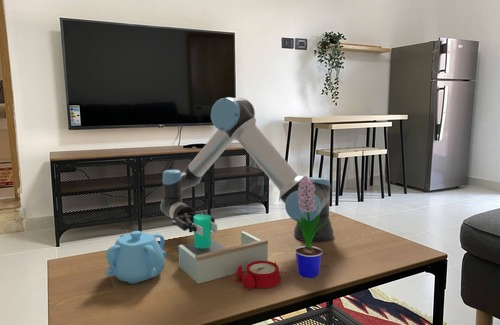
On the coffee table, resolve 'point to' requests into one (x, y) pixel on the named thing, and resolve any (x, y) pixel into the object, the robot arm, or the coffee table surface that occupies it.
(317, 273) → the hyacinth
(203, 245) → the candle
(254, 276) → the alarm clock
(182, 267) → the white u-shaped frame
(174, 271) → the coffee table surface
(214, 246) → the slate tile
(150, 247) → the decorative pot
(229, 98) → the robot arm
